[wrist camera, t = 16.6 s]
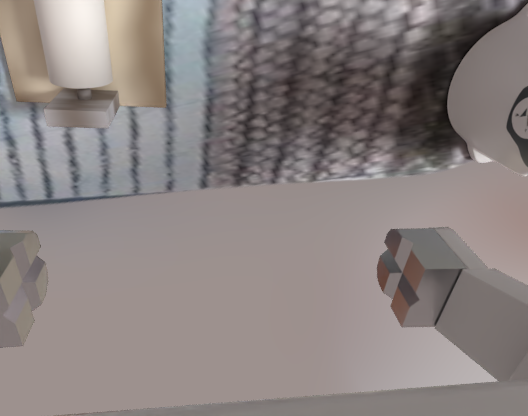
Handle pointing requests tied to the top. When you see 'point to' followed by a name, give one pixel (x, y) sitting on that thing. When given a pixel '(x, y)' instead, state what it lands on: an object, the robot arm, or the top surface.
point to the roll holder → (121, 54)
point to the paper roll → (75, 42)
